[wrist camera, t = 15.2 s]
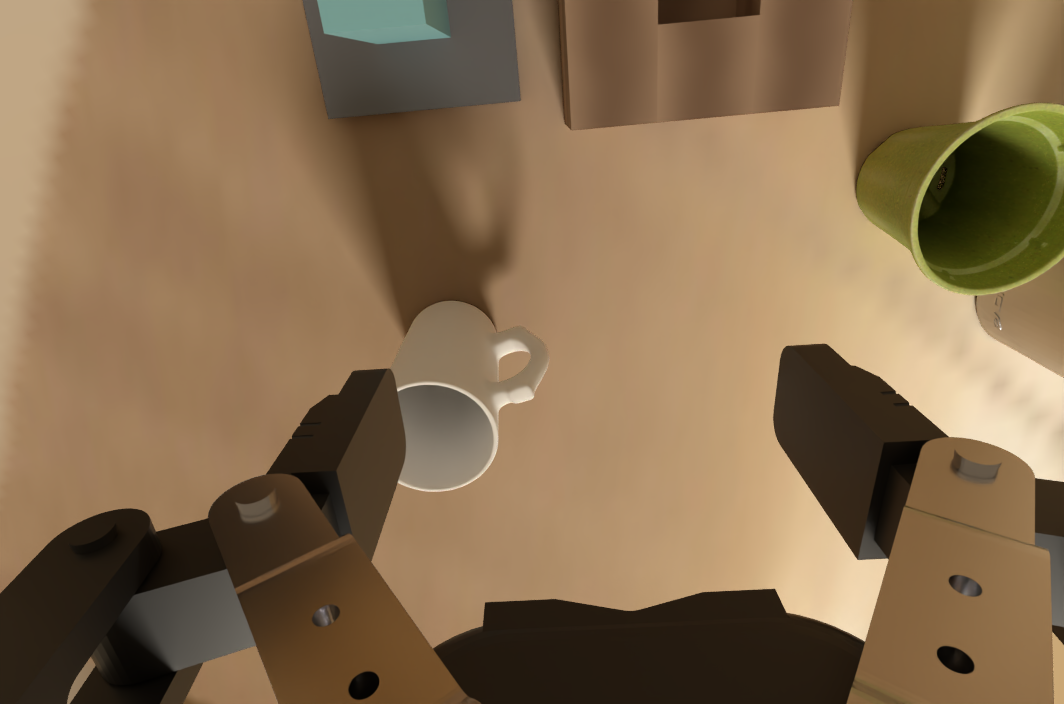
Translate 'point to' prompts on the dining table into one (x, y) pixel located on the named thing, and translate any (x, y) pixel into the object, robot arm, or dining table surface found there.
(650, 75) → the pocket block
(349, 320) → the dining table surface
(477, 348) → the mug
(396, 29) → the peg
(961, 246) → the plant pot
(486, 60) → the mat
